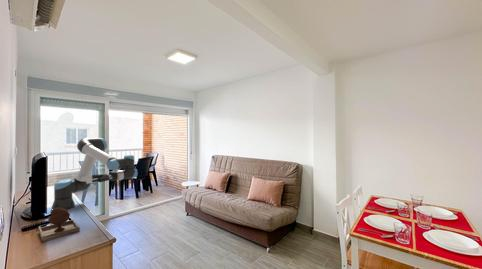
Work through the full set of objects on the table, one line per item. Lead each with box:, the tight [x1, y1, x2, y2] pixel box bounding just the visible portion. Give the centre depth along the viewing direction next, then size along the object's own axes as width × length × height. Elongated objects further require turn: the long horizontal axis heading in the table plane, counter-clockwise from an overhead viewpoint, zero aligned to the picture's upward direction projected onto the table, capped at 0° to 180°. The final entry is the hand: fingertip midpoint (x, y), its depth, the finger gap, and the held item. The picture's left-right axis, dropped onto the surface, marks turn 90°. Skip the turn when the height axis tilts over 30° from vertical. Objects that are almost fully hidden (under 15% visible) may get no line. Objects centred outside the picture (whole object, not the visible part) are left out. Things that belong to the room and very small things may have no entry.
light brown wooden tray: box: [38, 219, 81, 243], centre depth 135 cm, size 18×18×3 cm
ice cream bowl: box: [47, 208, 71, 232], centre depth 135 cm, size 11×11×15 cm
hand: (83, 180), depth 151 cm, fingers open, 13 cm apart
